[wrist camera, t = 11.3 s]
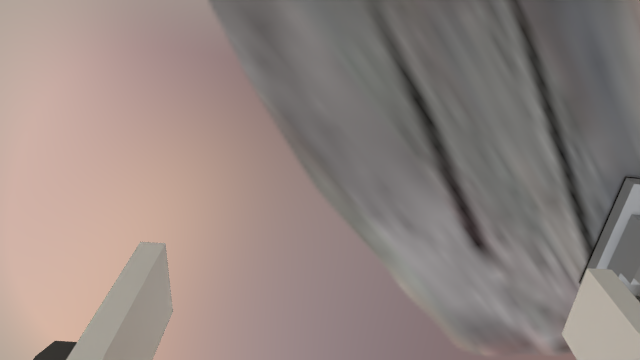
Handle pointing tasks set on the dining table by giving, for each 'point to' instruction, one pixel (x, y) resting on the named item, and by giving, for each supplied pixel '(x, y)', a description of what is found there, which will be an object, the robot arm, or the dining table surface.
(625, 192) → the fulcrum
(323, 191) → the dining table surface
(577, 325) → the robot arm
